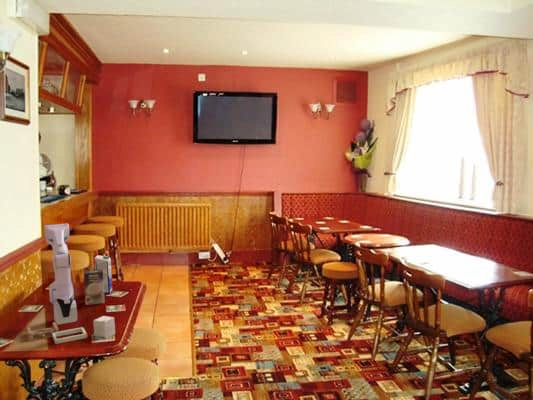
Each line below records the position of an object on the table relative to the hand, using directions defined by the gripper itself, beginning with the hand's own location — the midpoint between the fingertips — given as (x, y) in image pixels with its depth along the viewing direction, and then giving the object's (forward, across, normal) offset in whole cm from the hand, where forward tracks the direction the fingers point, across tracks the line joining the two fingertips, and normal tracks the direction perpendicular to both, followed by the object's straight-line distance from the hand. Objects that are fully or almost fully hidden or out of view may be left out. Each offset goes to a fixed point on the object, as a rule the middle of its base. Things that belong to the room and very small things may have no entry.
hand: (65, 316), depth 205 cm
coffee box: (+10, -44, +20) cm, 49 cm away
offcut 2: (+9, -5, -6) cm, 12 cm away
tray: (+10, +1, +1) cm, 10 cm away
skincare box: (+10, +5, +14) cm, 18 cm away
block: (+3, 0, 0) cm, 3 cm away
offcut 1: (+9, -5, -10) cm, 15 cm away
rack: (+10, -9, -8) cm, 15 cm away
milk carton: (+10, -59, +28) cm, 66 cm away
